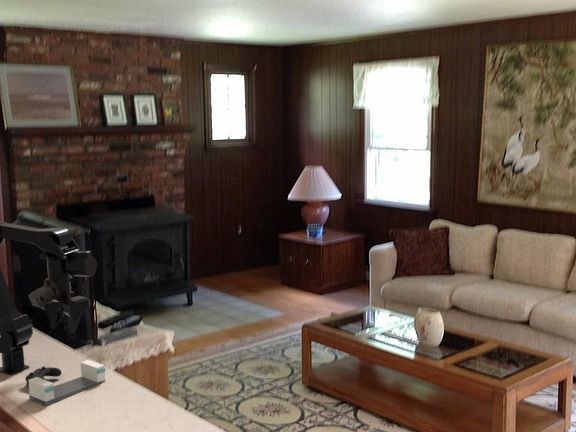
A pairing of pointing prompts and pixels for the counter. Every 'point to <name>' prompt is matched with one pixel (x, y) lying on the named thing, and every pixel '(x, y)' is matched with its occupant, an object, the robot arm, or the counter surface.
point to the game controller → (43, 373)
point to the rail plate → (68, 389)
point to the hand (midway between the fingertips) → (62, 330)
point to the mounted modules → (46, 389)
